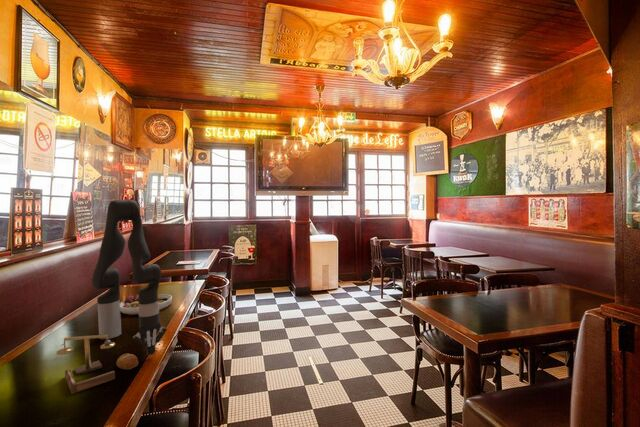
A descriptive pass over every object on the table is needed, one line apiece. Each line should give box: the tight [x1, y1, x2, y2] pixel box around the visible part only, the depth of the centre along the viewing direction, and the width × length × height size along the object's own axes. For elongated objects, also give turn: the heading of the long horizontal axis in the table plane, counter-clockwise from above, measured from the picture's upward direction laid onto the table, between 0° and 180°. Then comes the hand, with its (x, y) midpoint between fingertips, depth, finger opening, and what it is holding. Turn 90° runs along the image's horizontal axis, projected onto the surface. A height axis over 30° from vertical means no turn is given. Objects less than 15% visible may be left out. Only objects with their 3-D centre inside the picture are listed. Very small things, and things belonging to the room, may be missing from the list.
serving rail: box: [64, 368, 116, 395], centre depth 118 cm, size 16×13×3 cm
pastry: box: [116, 353, 139, 371], centre depth 127 cm, size 9×7×4 cm
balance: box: [55, 334, 116, 376], centre depth 125 cm, size 19×6×14 cm, turn 135°
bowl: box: [120, 293, 173, 315], centre depth 203 cm, size 30×30×8 cm
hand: (151, 354), depth 133 cm, fingers closed
